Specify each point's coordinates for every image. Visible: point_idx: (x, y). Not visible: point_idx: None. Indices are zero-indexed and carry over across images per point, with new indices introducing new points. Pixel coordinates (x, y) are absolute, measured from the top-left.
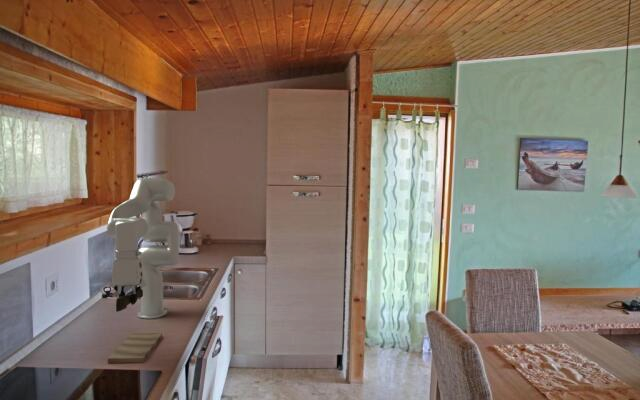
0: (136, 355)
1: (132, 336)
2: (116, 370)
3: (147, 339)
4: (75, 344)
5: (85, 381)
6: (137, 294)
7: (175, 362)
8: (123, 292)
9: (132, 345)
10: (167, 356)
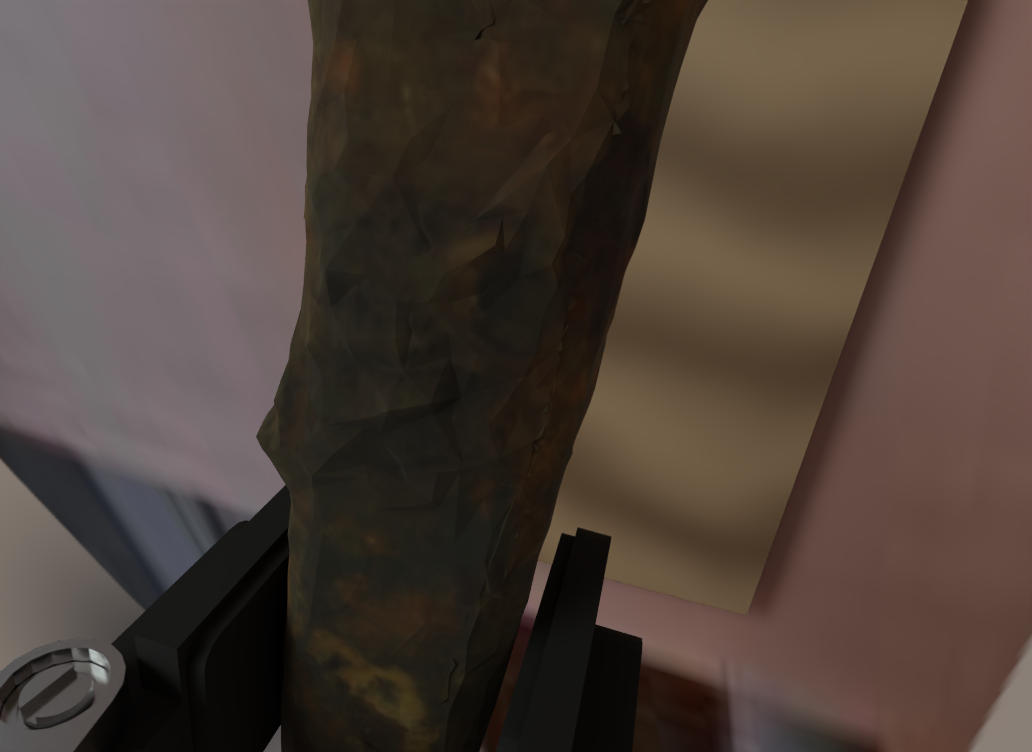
0: (687, 556)
1: None
2: None
3: (771, 183)
4: (93, 69)
5: None
6: (599, 353)
7: (1011, 672)
8: (177, 729)
9: (624, 328)
10: (956, 548)
